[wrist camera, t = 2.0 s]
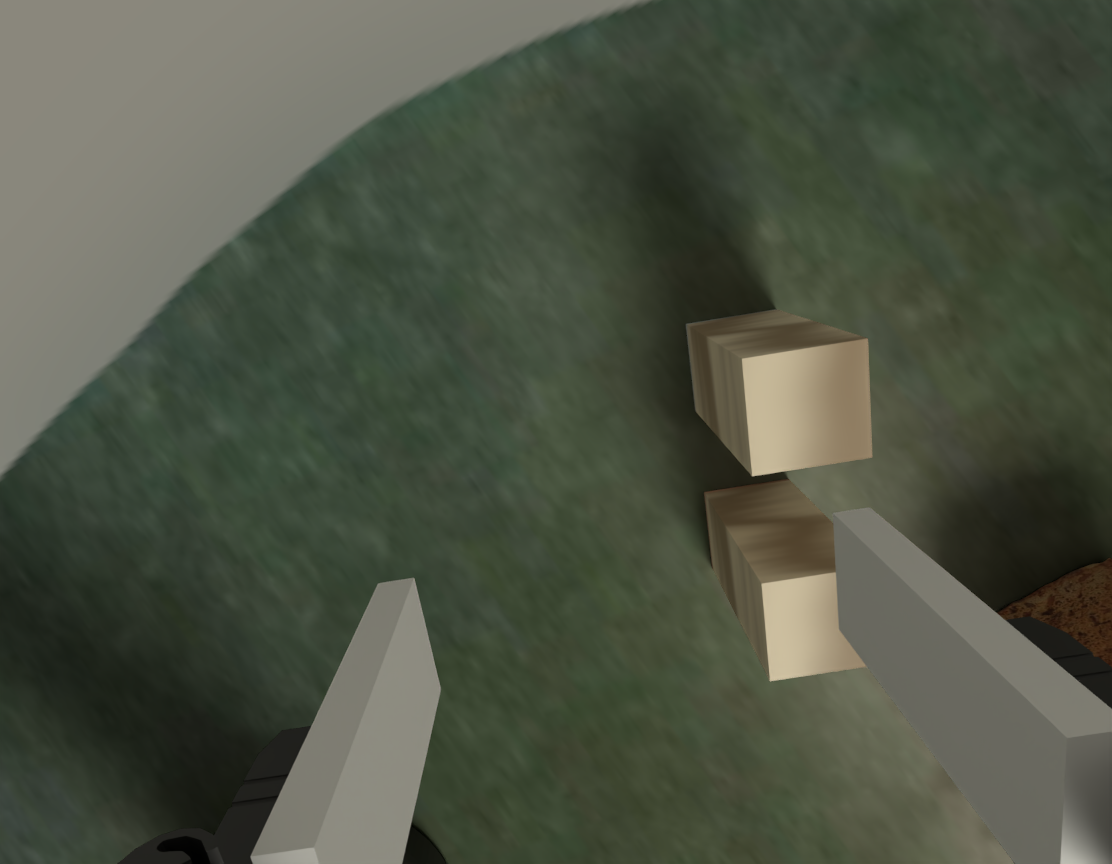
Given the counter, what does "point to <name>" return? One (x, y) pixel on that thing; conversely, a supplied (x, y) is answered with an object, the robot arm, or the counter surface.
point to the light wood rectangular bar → (782, 390)
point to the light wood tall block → (779, 577)
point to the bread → (1075, 607)
